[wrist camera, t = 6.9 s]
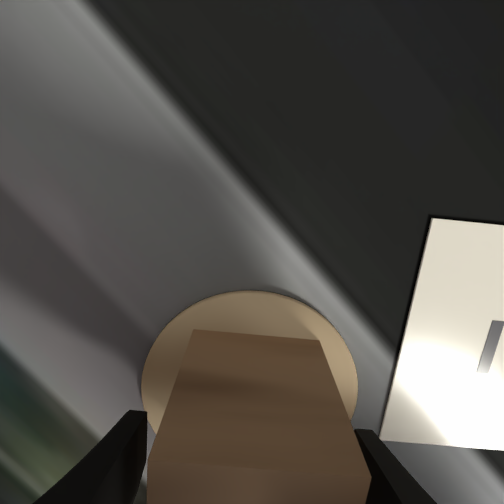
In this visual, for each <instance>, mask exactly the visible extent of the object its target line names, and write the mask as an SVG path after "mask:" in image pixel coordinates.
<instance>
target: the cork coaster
mask: <svg viewBox="0 0 504 504" xmlns="http://www.w3.org/2000/svg"><path fill="white" fill-rule="evenodd" d="M193 329H197V330H209V331H220V332H231V333H243V334H254V335H265V336H277V337H288V338H300V339H311V340H320V343H321V346H322V348H323V351H324V354H325V356H326V359H327V362H328V364H329V367H330V369H331V372H332V375H333V377H334V380H335V383H336V385H337V388H338V390H339V393H340V396H341V398H342V401H343V404H344V406H345V409H346V412H347V414H348V417H349V419H350V421H351V419H352V417H353V414H354V410H355V407H356V402H357V395H358V379H357V373H356V367H355V365H354V362H353V359H352V356H351V354H350V352H349V350H348V348H347V346H346V344H345V342H344V340H343V338H342V337H341V336H340V334H339V333H338V331H337V330H336V329H335V327H334V326H333V325H332V324H331V323H330V322H329V321H328V320H327V319H326V318H325V317H323V316H322V315H321V314H320V313H318V312H317V311H316V310H314V309H313V308H311V307H309V306H307V305H306V304H304V303H302V302H300V301H297V300H295V299H293V298H290V297H287V296H284V295H280V294H277V293H272V292H265V291H251V290H244V291H233V292H227V293H223V294H218V295H215V296H212V297H209V298H206V299H203V300H201V301H199V302H197V303H195V304H193V305H191V306H189V307H188V308H187V309H185V310H184V311H182V312H181V313H179V314H178V315H177V316H176V317H175V318H174V319H172V320H171V321H170V322H169V323H168V324H167V325H166V327H165V328H164V329H163V330H162V331H161V333H160V334H159V336H158V337H157V339H156V341H155V342H154V344H153V346H152V347H151V349H150V352H149V354H148V356H147V359H146V361H145V365H144V369H143V373H142V381H141V393H142V401H143V406H144V410H145V411H147V418H148V421H149V423H150V425H151V427H152V428H153V430H154V432H155V433H156V435H157V432H158V429H159V426H160V423H161V420H162V418H163V415H164V412H165V409H166V406H167V403H168V400H169V398H170V395H171V392H172V389H173V386H174V383H175V380H176V378H177V375H178V372H179V369H180V366H181V363H182V360H183V358H184V355H185V352H186V349H187V346H188V343H189V340H190V338H191V335H192V332H193Z"/></svg>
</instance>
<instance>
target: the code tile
mask: <svg viewBox="0 0 504 504" xmlns="http://www.w3.org/2000/svg"><path fill="white" fill-rule="evenodd" d="M379 439H380V440H383V441H395V442H407V443H419V444H432V445H444V446H456V447H468V448H480V449H492V450H504V225H497V224H487V223H477V222H467V221H457V220H447V219H437V218H431V222H430V226H429V230H428V235H427V239H426V243H425V247H424V251H423V256H422V260H421V264H420V268H419V272H418V276H417V281H416V285H415V289H414V293H413V297H412V301H411V306H410V310H409V314H408V318H407V322H406V326H405V331H404V335H403V339H402V343H401V347H400V351H399V356H398V360H397V364H396V368H395V372H394V376H393V381H392V385H391V389H390V393H389V397H388V401H387V406H386V410H385V414H384V418H383V422H382V426H381V431H380V435H379Z"/></svg>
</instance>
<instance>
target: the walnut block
mask: <svg viewBox="0 0 504 504" xmlns="http://www.w3.org/2000/svg"><path fill="white" fill-rule="evenodd" d="M371 478H372V477H371V475H370V472H369V469H368V467H367V464H366V462H365V459H364V456H363V454H362V451H361V448H360V446H359V443H358V441H357V438H356V435H355V433H354V430H353V427H352V425H351V422H350V419H349V417H348V414H347V412H346V409H345V406H344V404H343V401H342V398H341V396H340V393H339V390H338V388H337V385H336V383H335V380H334V377H333V375H332V372H331V369H330V367H329V364H328V362H327V359H326V356H325V354H324V351H323V348H322V346H321V343H320V340H311V339H300V338H288V337H277V336H265V335H254V334H243V333H231V332H220V331H209V330H197V329H193V332H192V335H191V338H190V340H189V343H188V346H187V349H186V352H185V355H184V358H183V360H182V363H181V366H180V369H179V372H178V375H177V378H176V380H175V383H174V386H173V389H172V392H171V395H170V398H169V400H168V403H167V406H166V409H165V412H164V415H163V418H162V420H161V423H160V426H159V429H158V432H157V435H156V438H155V440H154V443H153V446H152V449H151V452H150V455H149V458H148V467H147V504H365V503H366V498H367V494H368V490H369V486H370V482H371Z"/></svg>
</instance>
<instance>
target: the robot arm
mask: <svg viewBox="0 0 504 504" xmlns="http://www.w3.org/2000/svg"><path fill="white" fill-rule="evenodd" d="M354 433H355V435H356V438H357V441H358V443H359V446H360V448H361V451H362V454H363V456H364V459H365V462H366V464H367V467H368V469H369V472H370V475H371V477H372V478H371V482H370V486H369V490H368V494H367V498H366V503H365V504H437V503H436V502H435V501H434V500H433V499H432V498H431V497H430V496H429V495H428V494H427V492H426V491H425V490H424V489H423V488H422V487H421V486H420V485H419V484H418V483H417V482H416V480H415V479H414V478H413V477H412V476H411V475H410V474H409V473H408V471H407V470H406V469H405V468H404V467H403V466H402V464H401V463H400V462H399V461H398V460H397V459H396V457H395V456H394V455H393V454H392V453H391V452H390V450H389V449H388V448H387V447H386V446H385V444H384V443H383V442H382V441H381V440H380V439H379V437H378V436H377V435H376V434H375V433H374V432H373V430H365V429H355V431H354ZM146 454H147V411H136V410H129V411H128V412H126V414H125V415H124V416H123V417H122V418H121V419H120V420H119V421H118V422H117V424H116V425H115V426H114V427H113V428H112V429H111V430H110V431H109V432H108V433H107V434H106V435H105V436H104V438H103V439H102V440H101V441H100V442H99V443H98V444H97V445H96V446H95V447H94V448H93V449H92V450H91V451H90V452H89V453H88V454H87V455H86V456H85V457H84V458H83V459H82V460H81V461H80V462H79V463H78V464H77V465H76V466H74V467H73V468H72V469H71V470H70V471H69V472H68V473H67V474H66V475H65V476H64V477H63V478H62V479H60V480H59V481H58V482H57V483H56V484H55V485H54V486H53V487H52V488H50V489H49V490H48V491H47V492H46V493H45V494H43V495H42V496H41V497H40V498H39V499H38V500H36V501H35V502H34V503H33V504H133V502H134V499H135V496H136V494H137V491H138V487H139V484H140V480H141V477H142V473H143V470H144V466H145V463H146Z"/></svg>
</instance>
